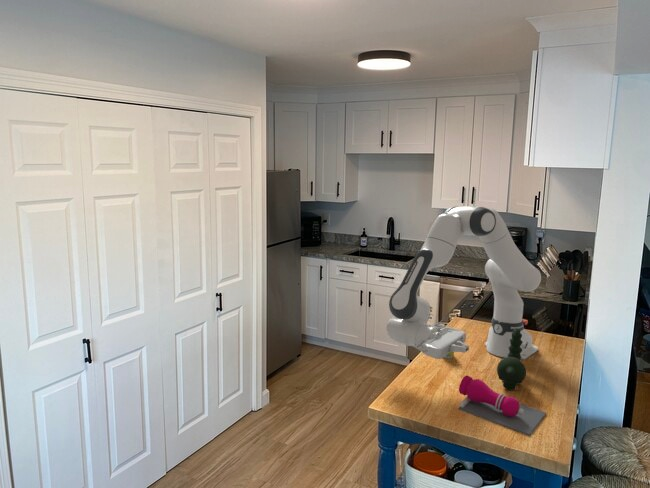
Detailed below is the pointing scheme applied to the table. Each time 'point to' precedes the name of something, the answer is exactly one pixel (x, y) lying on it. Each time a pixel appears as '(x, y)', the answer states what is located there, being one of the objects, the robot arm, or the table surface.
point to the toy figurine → (512, 363)
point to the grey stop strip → (464, 402)
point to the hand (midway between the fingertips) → (467, 349)
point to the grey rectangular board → (517, 422)
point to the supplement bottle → (449, 355)
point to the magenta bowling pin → (489, 396)
